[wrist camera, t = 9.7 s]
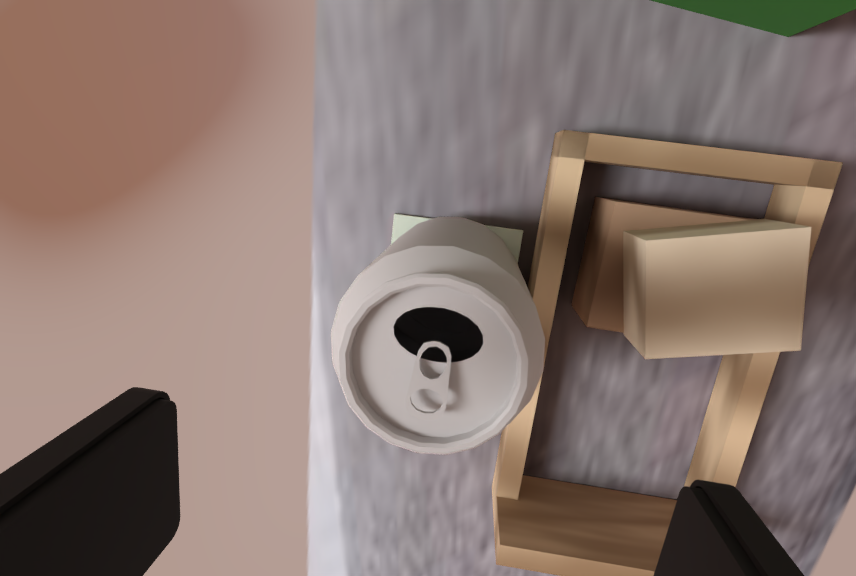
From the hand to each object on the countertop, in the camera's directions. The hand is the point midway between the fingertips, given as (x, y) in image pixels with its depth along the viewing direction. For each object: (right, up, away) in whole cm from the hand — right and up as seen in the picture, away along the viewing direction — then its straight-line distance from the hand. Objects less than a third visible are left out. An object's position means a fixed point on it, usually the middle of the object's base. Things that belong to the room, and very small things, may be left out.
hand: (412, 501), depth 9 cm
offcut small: (+12, +4, +13) cm, 19 cm away
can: (+2, +4, +18) cm, 19 cm away
